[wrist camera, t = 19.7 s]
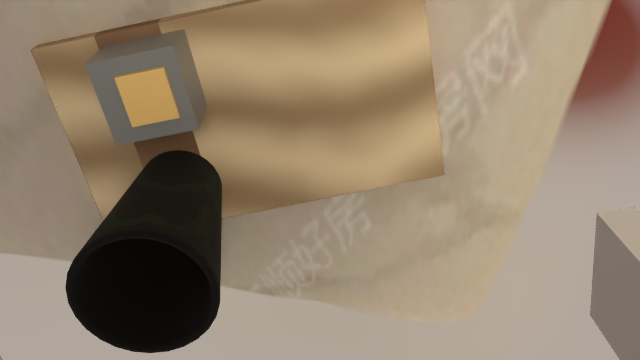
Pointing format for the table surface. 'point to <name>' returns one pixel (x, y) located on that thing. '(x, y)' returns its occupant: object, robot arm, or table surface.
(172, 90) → the grey block
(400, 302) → the table surface
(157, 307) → the cup
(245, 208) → the panel
